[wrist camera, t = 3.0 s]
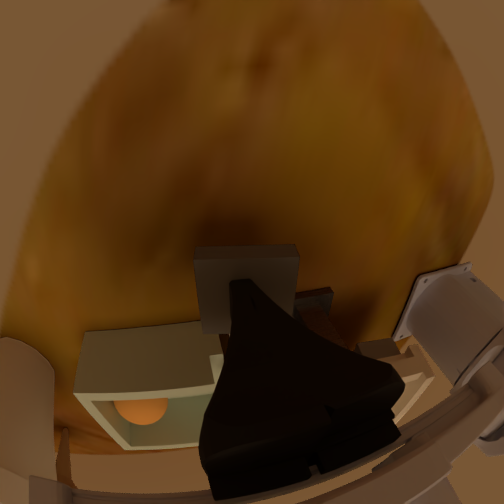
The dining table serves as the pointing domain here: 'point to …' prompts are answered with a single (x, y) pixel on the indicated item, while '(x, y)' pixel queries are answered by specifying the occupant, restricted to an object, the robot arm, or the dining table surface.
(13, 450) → the foam cup
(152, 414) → the ball
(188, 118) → the dining table surface
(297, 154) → the dining table surface
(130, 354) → the cup
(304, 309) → the lever stand
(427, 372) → the lever board
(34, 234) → the dining table surface
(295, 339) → the robot arm
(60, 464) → the ice cream cone
